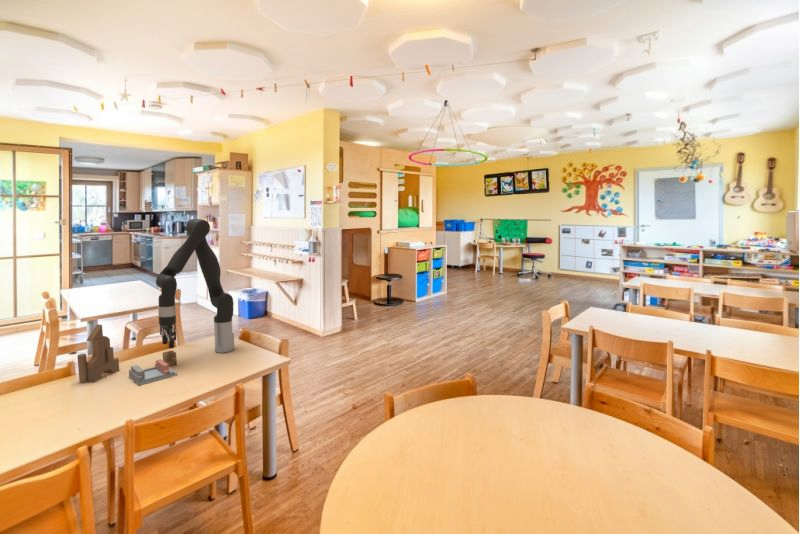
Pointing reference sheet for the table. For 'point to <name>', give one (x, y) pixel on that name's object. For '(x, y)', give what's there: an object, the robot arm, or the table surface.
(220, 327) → the robot arm
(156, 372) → the vise base
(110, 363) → the wooden toy
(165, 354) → the walnut block
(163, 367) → the bar
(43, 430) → the table surface
